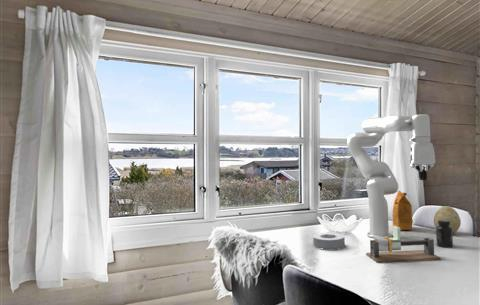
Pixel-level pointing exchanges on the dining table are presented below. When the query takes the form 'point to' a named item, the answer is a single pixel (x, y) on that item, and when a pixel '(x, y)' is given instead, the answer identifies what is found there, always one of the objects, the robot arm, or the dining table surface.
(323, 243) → the tape roll
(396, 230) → the mint green stepped block
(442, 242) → the supplement bottle
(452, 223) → the fossilized egg
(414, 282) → the dining table surface
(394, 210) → the coffee package
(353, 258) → the dining table surface
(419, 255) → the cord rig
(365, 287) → the dining table surface
